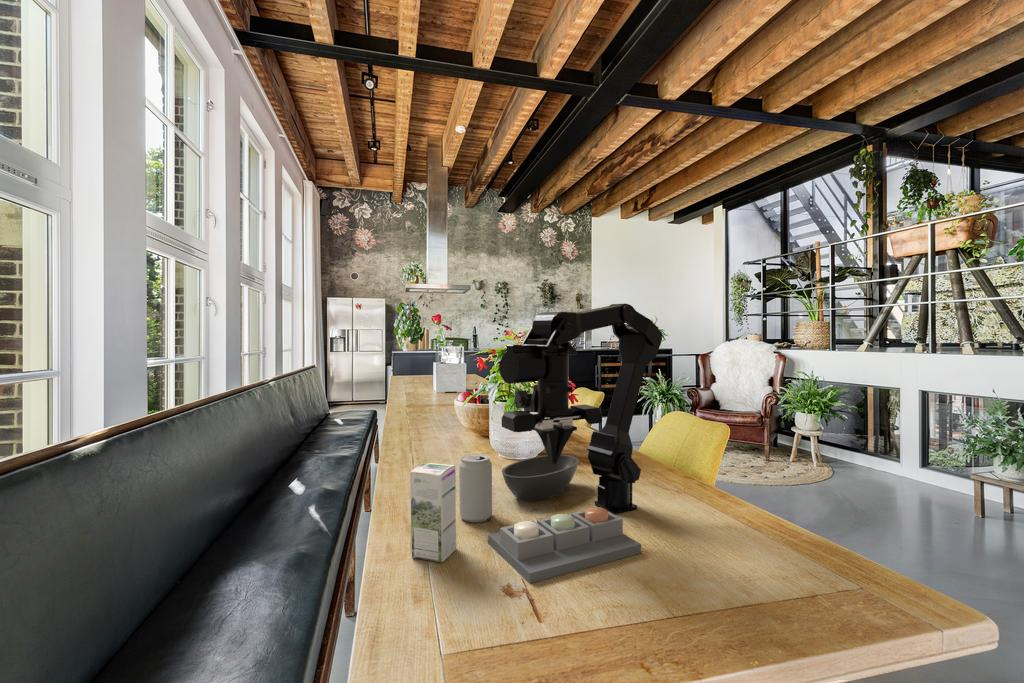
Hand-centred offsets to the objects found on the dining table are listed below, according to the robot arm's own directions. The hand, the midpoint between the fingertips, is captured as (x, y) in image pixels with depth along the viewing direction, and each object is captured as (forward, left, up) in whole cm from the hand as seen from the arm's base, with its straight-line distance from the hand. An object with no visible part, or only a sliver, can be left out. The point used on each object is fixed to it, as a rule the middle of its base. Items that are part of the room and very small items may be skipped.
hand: (553, 463), depth 92 cm
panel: (+3, +8, -12) cm, 15 cm away
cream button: (+10, +8, -10) cm, 16 cm away
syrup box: (+23, 0, -12) cm, 26 cm away
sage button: (+3, +8, -10) cm, 13 cm away
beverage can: (+11, -11, -12) cm, 20 cm away
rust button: (-4, +8, -10) cm, 14 cm away
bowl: (-8, -18, -12) cm, 23 cm away
